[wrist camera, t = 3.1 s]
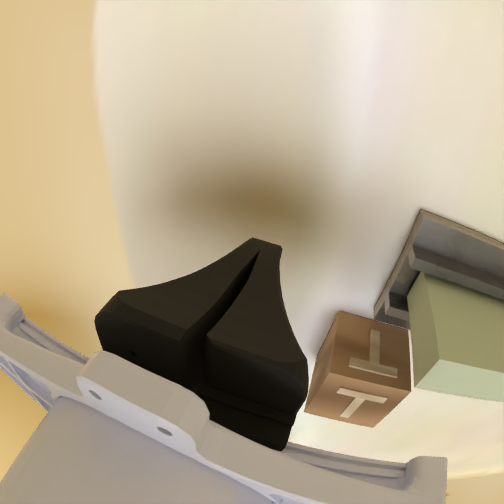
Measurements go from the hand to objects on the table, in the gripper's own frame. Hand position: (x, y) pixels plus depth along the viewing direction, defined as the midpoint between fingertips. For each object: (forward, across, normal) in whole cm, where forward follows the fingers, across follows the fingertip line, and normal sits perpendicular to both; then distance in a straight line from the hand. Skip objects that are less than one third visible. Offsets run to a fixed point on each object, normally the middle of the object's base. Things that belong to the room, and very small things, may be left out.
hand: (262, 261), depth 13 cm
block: (+4, -7, +8) cm, 12 cm away
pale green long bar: (+3, -15, +1) cm, 15 cm away
